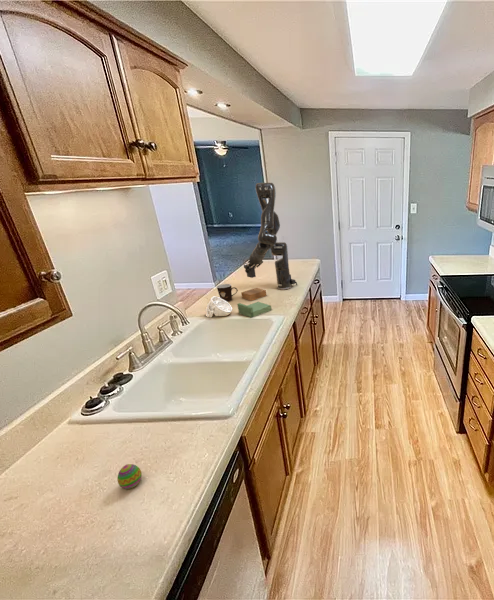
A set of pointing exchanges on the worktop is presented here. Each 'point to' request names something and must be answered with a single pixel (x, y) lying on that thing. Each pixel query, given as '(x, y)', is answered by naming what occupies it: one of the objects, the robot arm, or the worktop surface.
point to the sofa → (253, 309)
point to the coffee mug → (225, 291)
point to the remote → (251, 272)
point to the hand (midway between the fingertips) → (248, 271)
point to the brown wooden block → (253, 294)
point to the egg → (129, 476)
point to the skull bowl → (218, 307)
